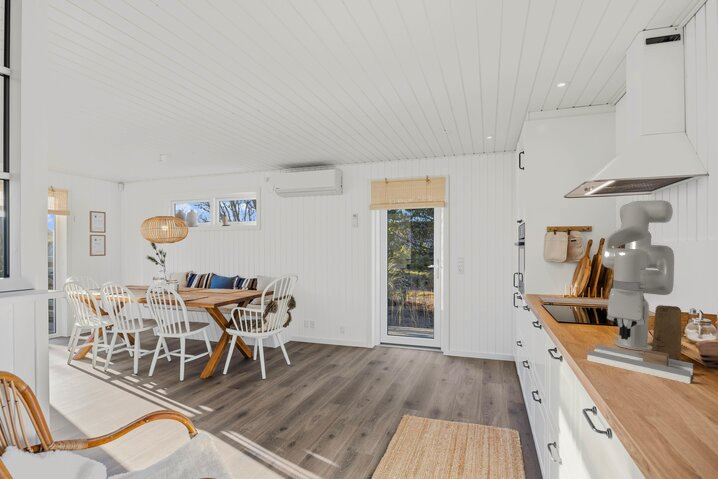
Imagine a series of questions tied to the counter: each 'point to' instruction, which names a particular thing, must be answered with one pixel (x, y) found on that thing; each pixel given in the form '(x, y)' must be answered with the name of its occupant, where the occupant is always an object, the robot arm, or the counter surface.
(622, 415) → the counter surface
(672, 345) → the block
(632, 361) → the board
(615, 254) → the robot arm
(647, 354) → the walnut block
